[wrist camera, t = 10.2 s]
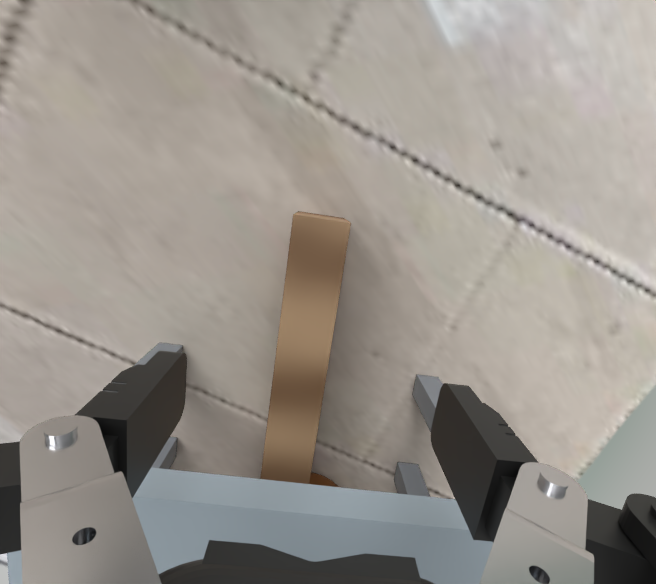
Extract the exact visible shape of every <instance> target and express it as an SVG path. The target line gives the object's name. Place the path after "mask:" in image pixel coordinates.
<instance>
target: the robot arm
mask: <svg viewBox="0 0 656 584" xmlns="http://www.w3.org/2000/svg"><path fill="white" fill-rule="evenodd" d="M186 369H187V357H186V354H185V353H179V352H170V351H161V350H160V351H158V352H157V353H156V354H155V355H154V356H153V357H152V358H151V359H150V360H149V361H148V362H147V363H146V364H145V365H140V364H137V365H135V366H133V367H131V368H129V369H126V370H124V371H122V372H121V373H120V374H119V375H118V376H117V377H116V378H114V379H113V380H112V382H111V383H109V384H108V385H107V386H106V387H105V388H104V389H103V391H100V392H99V393H98V394H97V395H96V396H95V397H94V398H93V399H92V400H91V401H90V402H88V403H87V404H86V405H85V406H84V407H83V408H82V409H81V410H80V411H79V412H78V413H77V414H75V415H72V416H63V417H58V418H54V419H50V420H47V421H45V422H42V423H40V424H38V425H36V426H34V427H33V428H31V429H30V430H29V431H27V432H26V433H25V434H24V435H23V437H22V438H21V440H20V442H14V443H4V444H0V554H4V553H10V552H15V551H20V550H21V554H22V584H434V583H432V582H430V581H428V580H426V579H423V578H420V575H419V571H418V568H417V564H416V560H415V558H413V557H401V556H390V555H378V554H366V553H365V554H359V555H353V556H348V557H342V558H336V559H330V560H324V561H318V562H313V561H308V560H305V559H302V558H299V557H296V556H293V555H290V554H287V553H285V552H282V551H279V550H276V549H273V548H270V547H267V546H264V545H261V544H250V543H239V542H227V541H215V540H209V542H208V545H207V549H206V552H205V555H204V558H203V559H200V560H195V561H191V562H188V563H184V564H181V565H178V566H176V567H173V568H171V569H168V570H166V571H164V572H162V573H160V574H158V572H157V569H156V566H155V563H154V560H153V557H152V554H151V552H150V549H149V546H148V543H147V540H146V537H145V534H144V531H143V529H142V526H141V523H140V520H139V517H138V514H137V511H136V508H135V506H134V503H133V500H132V498H133V497H134V495H135V493H136V492H137V490H138V488H139V487H140V485H141V484H142V482H143V480H144V479H145V477H146V475H147V474H148V472H149V470H150V469H151V467H152V465H153V464H154V462H155V460H156V459H157V457H158V455H159V454H160V452H161V450H162V449H163V447H164V445H165V444H166V442H167V440H168V439H169V437H170V435H171V434H172V432H173V430H174V429H175V427H176V426H177V424H178V422H179V420H180V418H181V416H182V413H183V409H184V405H185V392H186ZM431 443H432V447H433V449H434V451H435V454H436V456H437V458H438V461H439V463H440V465H441V467H442V470H443V472H444V474H445V476H446V479H447V481H448V483H449V485H450V488H451V490H452V492H453V495H454V497H455V499H456V501H457V504H458V506H459V508H460V510H461V513H462V515H463V517H464V519H465V522H466V524H467V526H468V529H469V531H470V533H471V535H472V538H473V540H480V541H491V542H493V545H492V548H491V551H490V554H489V557H488V560H487V563H486V566H485V569H484V571H483V574H482V577H481V580H480V583H479V584H656V498H655V497H652V496H648V495H644V494H631V495H629V496H628V497H627V499H626V501H625V504H624V506H623V509H622V510H620V509H617V508H614V507H611V506H608V505H605V504H601V503H598V502H595V501H592V500H589V499H588V498H587V494H586V492H585V491H584V489H583V488H582V487H581V485H580V484H579V483H578V482H576V481H575V480H574V479H573V478H572V477H570V476H569V475H567V474H566V473H564V472H562V471H560V470H558V469H556V468H554V467H552V466H549V465H546V464H542V463H538V462H537V460H536V459H535V458H534V457H533V455H532V454H531V453H530V452H529V450H528V449H527V448H526V447H525V445H524V444H523V443H522V442H521V440H520V439H519V438H518V437H517V436H515V433H514V432H513V430H512V429H511V428H510V427H508V424H507V423H506V422H505V420H504V419H503V418H502V417H501V415H500V414H499V413H497V412H496V411H495V410H493V409H492V408H491V407H489V406H488V405H486V404H485V403H482V402H481V401H480V400H479V398H478V397H477V396H476V394H475V393H474V392H473V391H472V389H471V388H470V387H469V386H464V385H456V384H447V383H445V384H443V385H442V387H441V389H440V392H439V397H438V401H437V405H436V409H435V414H434V418H433V422H432V427H431Z"/></svg>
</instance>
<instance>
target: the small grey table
mask: <svg viewBox="0 0 656 584" xmlns="http://www.w3.org/2000/svg"><path fill="white" fill-rule="evenodd" d="M182 347H183V345H175V344H167V343H158V344H157V345H156V346H155V347H154V348H153V349H152V350H151V351H149V352H148V353H147V354H146V355H145V356H144V357H143V358H142V359H140V360H139V361H138V362H137V363H136V364H135V365H137V364H140V365H145V364H146V363H147V362H148V361H149V360H150V359H151V358H152V357H153V356H154V355H155V354H156V353H157V352H158V351H160V350H161V351H170V352H179V353H182ZM135 365H134V366H135ZM442 385H443V384H442V382H441V381H440V379H439V378H438V377H433V376H425V375H416V380H415V385H414V389H413V394H412V395H413V397H414V399H415V401H416V403H417V405H418V407H419V409H420V411H421V413H422V415H423V417H424V419H425V421H426V424H427V426H428V428H429V430H430V432H431V427H432V422H433V418H434V414H435V409H436V405H437V401H438V397H439V392H440V389H441V387H442ZM176 449H177V438H175V437H169V439H168V440H167V442H166V444H165V445H164V447H163V449H162V450H161V452H160V454H159V455H158V457H157V459H156V460H155V462H154V464H153V465H152V467H151V469H150V470H149V472H148V474H147V475H146V477H145V479H144V480H143V482H142V484H141V485H140V487H139V488H138V490H137V492H136V493H135V495H134V497H133V498H132V500H133V503H134V506H135V508H136V511H137V514H138V517H139V520H140V523H141V526H142V529H143V531H144V534H145V537H146V540H147V543H148V546H149V549H150V552H151V554H152V557H153V560H154V563H155V566H156V569H157V572H158V574H160V573H162V572H164V571H166V570H168V569H171V568H173V567H176V566H178V565H181V564H184V563H188V562H191V561H195V560H200V559H203V558H204V555H205V552H206V549H207V545H208V542H209V540H215V541H227V542H239V543H250V544H261V545H264V546H267V547H270V548H273V549H276V550H279V551H282V552H285V553H287V554H290V555H293V556H296V557H299V558H302V559H305V560H308V561H313V562H318V561H324V560H330V559H336V558H342V557H348V556H353V555H359V554H365V553H366V554H378V555H390V556H401V557H413V558H415V560H416V564H417V568H418V571H419V575H420V578H423V579H426V580H428V581H430V582H432V583H434V584H479V583H480V580H481V577H482V574H483V571H484V569H485V566H486V563H487V560H488V557H489V554H490V551H491V548H492V545H493V542H491V541H480V540H473V538H472V535H471V533H470V531H469V529H468V526H467V524H466V522H465V519H464V517H463V515H462V513H461V510H460V508H459V506H458V504H457V501H456V500H455V499H445V498H436V497H430V495H429V492H428V490H427V487H426V484H425V482H424V479H423V476H422V474H421V471H420V468H419V466H418V464H410V463H401V462H398V463H397V468H396V473H395V477H394V482H395V485H396V489H397V493H388V492H379V491H369V490H360V489H350V488H341V487H331V486H322V485H312V484H303V483H293V482H284V481H275V480H265V479H256V478H246V477H237V476H227V475H218V474H208V473H199V472H189V471H180V470H170V469H169V468H170V466H171V464H172V463H173V461H174V459H175V457H176ZM7 559H8V575H9V584H22V554H21V550H20V551H15V552H10V553H7Z"/></svg>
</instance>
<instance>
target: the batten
mask: <svg viewBox="0 0 656 584" xmlns="http://www.w3.org/2000/svg"><path fill="white" fill-rule="evenodd" d="M350 226H351V223H350V222H349V221H347V220H346V219H344V218H339V217H332V216H326V215H319V214H313V213H306V212H299V211H298V212H297V213H295V214H293V222H292V230H291V238H290V246H289V254H288V262H287V270H286V278H285V286H284V294H283V302H282V310H281V318H280V326H279V334H278V342H277V350H276V358H275V366H274V374H273V382H272V390H271V398H270V406H269V414H268V422H267V430H266V438H265V446H264V454H263V462H262V470H261V478H260V479H265V480H275V481H284V482H293V483H303V484H309V481H310V475H311V469H312V462H313V456H314V450H315V444H316V437H317V431H318V425H319V419H320V413H321V406H322V400H323V394H324V388H325V381H326V375H327V369H328V363H329V356H330V350H331V344H332V338H333V332H334V325H335V319H336V313H337V307H338V300H339V294H340V288H341V282H342V275H343V269H344V263H345V257H346V251H347V244H348V238H349V232H350Z"/></svg>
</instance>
